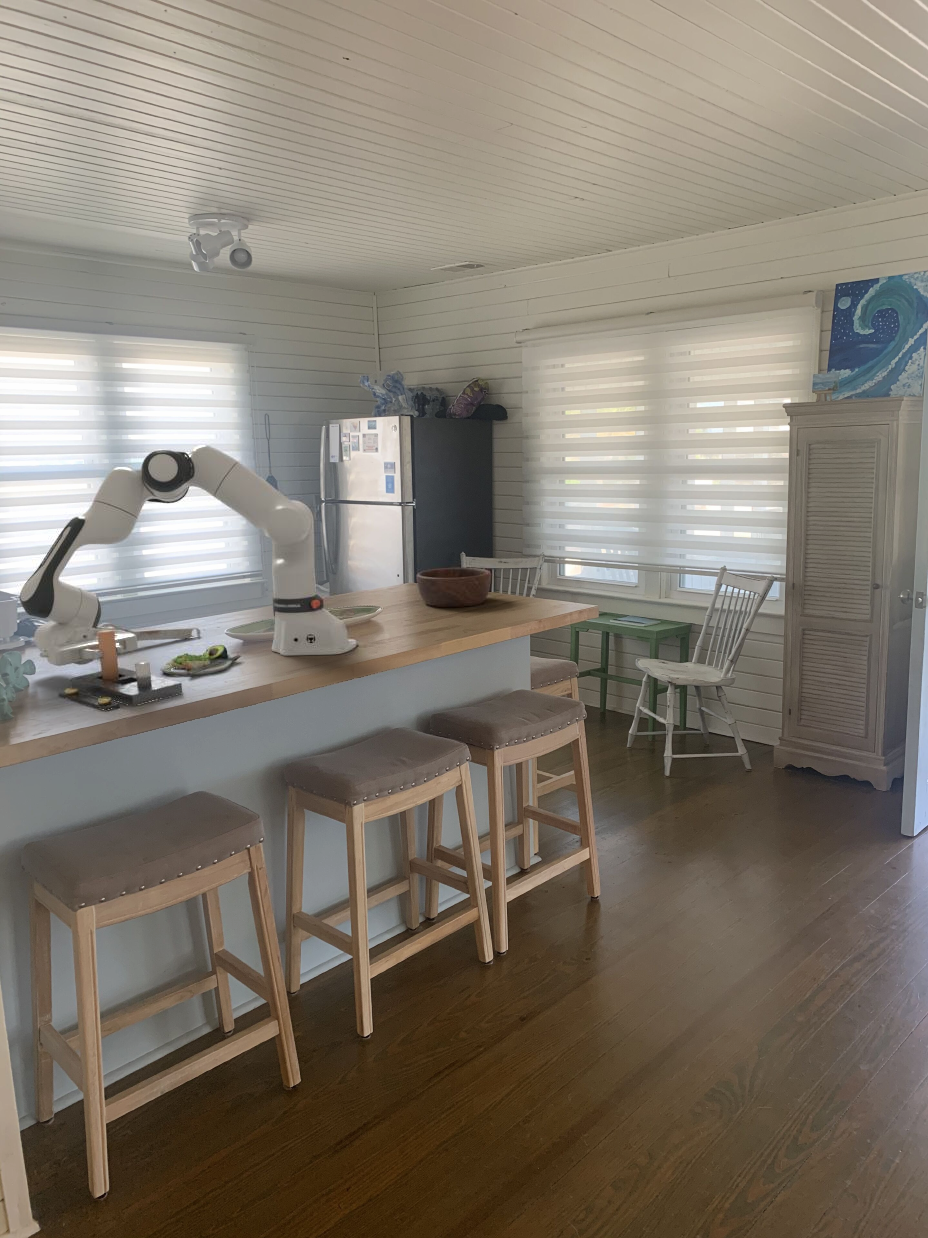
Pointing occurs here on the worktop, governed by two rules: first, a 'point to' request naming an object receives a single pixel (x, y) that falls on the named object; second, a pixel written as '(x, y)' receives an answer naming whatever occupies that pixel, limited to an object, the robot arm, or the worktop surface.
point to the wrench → (157, 633)
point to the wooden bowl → (454, 586)
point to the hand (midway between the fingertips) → (110, 652)
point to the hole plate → (121, 688)
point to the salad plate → (201, 662)
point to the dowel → (108, 654)
